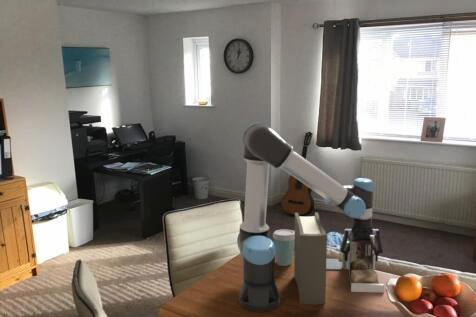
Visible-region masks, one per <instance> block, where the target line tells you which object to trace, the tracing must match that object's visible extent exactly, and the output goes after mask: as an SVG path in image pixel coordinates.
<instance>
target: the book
mask: <svg viewBox="0 0 476 317" xmlns="http://www.w3.org/2000/svg"><path fill="white" fill-rule="evenodd" d="M319 214H320V213H319V212H314V215H313V216H301V215H299V212H294V231H295V247H294V265H293V266H294V267H293V268H294V274H293V275H294V276H295V277H294V279H295V282H296V286H297V290H298V298H299V304H303V305H321V304H323V305H324V304H326V294H327V292H326V290H327V288H326V287H327V270H326V259H327V255H328V254H327V252H328V251H327V250H328V249H327V248H328V246H327V244H328V234H327V233H326V232H327V231H326V230H325V229H324V227H323V224H322V221H321V219H320V215H319Z"/></svg>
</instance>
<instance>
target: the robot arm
mask: <svg viewBox="0 0 476 317" xmlns="http://www.w3.org/2000/svg"><path fill="white" fill-rule="evenodd" d="M242 142H243V160H244V161H245V162H246V176H245V177H246V178H245V179H246V180H245V194H244V196H245V198H244V214H243V215H244V216H243V221H242V222H241V224H239V232H238V235H237V240H236V244H237V247H238V250H239V253H240V256H241V260H242V277H243V278H242V279H243V282H242V285H241V287H240V291H239V294H238V295H239V296H238V297H239V298H238V301H239V302H238V303H239V304H240V306H241V307H242V308H244V309H246V310H247V311H248V310H249V311H251V312H259V313H260V312H261V313H262V312H270V311H272V310H274V309H275V308H277V307H279V305H280V302H281V296H280V292H279V288H278V286H277V283H276V278H275V277H276V254H275V246H274V240H272V239H270V238H269V236H270V235H269V234H270V226H269V225H268V224H267V222H266V221H267V220H266V218H267V207H268V194H269V192H268V191H269V180H270V179H269V176H270V165H271V166H272V167H274V168H275V169H282V170H283V171H285V172H286V173H287V174H289V175H290V176H291V177H292V178H295V179H296V180H298V182H300V183H302V184H303V185H305V186H306V187H307V188H309V189H311V190H312V191H314V192H315V193H316V194H318V195H320V197H322V198H323V201H324V203H325V205H327V206H334V207H336V208H337V209H338V210H340V211H342V212H343V213H344V214H345V215H346V216H348V217H349V218H352V223H351V224H352V226H351V228H344V229H343V232H344V234H343V235H344V237H343V236H342V241H341V244H340V247H339V250H340V253H341V254H342V253H344V259H345V261H347V269H346V270H349V269H350V254H349V251H350V241H348V239H349V235H351V233H352V234H353V235H351V236H352V239H353V240H355V241H357V239H368V241H370V240H371V239H370V235H372V233H373V235H374V236H375V241H376V245H377V248H376V246H375V243H374V244H373V251H374V252H373V265H372V269H374V271H375V270H376V262H378V261H379V255H380V254H383V253H384V251H383V247H382V243H381V238H380V230H379V228H373V218H372V217H373V200H374V182H373V180H371V179H370V178H366V177H365V178H364V177H363V178H362V177H358V178H355V179H354V180H353V183H352V184H343V185H342V184H341V183H339V182H338V181H337V180H335V179H333V177H331V176H330V175H329V174H327V173H325V172H324V171H323V170H321V169H320V168H318V167H317V166H315V165H314V164H313V163H311V162H310V161H308V160H307V159H306V158H305V157H303V156H302V155H300V154H299V153H297V152H296V151H294V147H293V146H292V145H291V144H290V143H289V142H287V141H286V140H285V139H284V138H283V137H282V136H281V135H280V134H279V133H278V132H277V131H276V130H275V129H273V128H272V127H270V125H268V124H266V123H261V122H256V123H255V122H254V123H253V124H250V125H249V126H248V127H247V128H246V129H245V130H244V133H243V135H242ZM347 242H349V243H348V245H347V247H346V248H345V246H346V243H347Z"/></svg>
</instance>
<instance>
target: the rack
mask: <svg viewBox="0 0 476 317" xmlns="http://www.w3.org/2000/svg"><path fill="white" fill-rule="evenodd" d="M343 237H344V234H342V238H343ZM369 237H372V239H373V244H374V245H375V240H376V237H375V235H374V234H371V235H370V236H369ZM349 242H350V241H347V243H346V246H345V248H346V247H347V245H348V243H349ZM373 252H374V251H373ZM349 254H350V251H349ZM342 268H347V261H345V259H344V253H341V269H342ZM384 289H385V285H384V283H379V284H371V283H350V291H351V292H352V293H384Z"/></svg>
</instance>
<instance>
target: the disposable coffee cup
mask: <svg viewBox="0 0 476 317" xmlns="http://www.w3.org/2000/svg"><path fill="white" fill-rule="evenodd" d="M272 239H273V243H274V247H275V262H276V263H277V265H278V266H282V267H288V265H289V266H290V265H292V262H293V257H294V254H295V230H291V229H283V228H282V229H277V230H275V231H274V232H273V233H272Z"/></svg>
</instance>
